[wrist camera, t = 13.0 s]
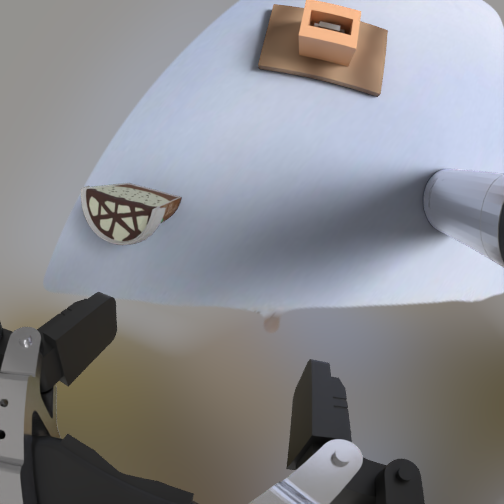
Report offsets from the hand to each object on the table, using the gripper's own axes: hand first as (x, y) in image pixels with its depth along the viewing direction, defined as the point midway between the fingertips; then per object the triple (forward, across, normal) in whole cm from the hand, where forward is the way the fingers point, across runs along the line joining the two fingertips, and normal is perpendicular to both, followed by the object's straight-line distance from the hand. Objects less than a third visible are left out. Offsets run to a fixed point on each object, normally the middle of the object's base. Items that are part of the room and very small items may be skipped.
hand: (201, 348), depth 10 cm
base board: (+28, -2, -25) cm, 38 cm away
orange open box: (+27, -2, -26) cm, 37 cm away
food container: (+28, +18, +3) cm, 34 cm away
